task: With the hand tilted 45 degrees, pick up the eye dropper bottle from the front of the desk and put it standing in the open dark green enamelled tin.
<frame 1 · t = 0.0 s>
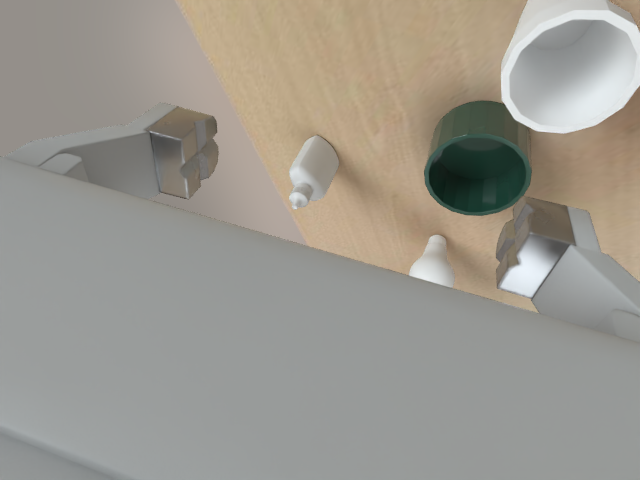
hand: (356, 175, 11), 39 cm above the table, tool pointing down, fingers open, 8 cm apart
eye dropper bottle: (323, 150, 60), on the table
foam cup: (557, 14, 41), on the table
lightbulb: (438, 236, 65), on the table
tin: (478, 143, 52), on the table
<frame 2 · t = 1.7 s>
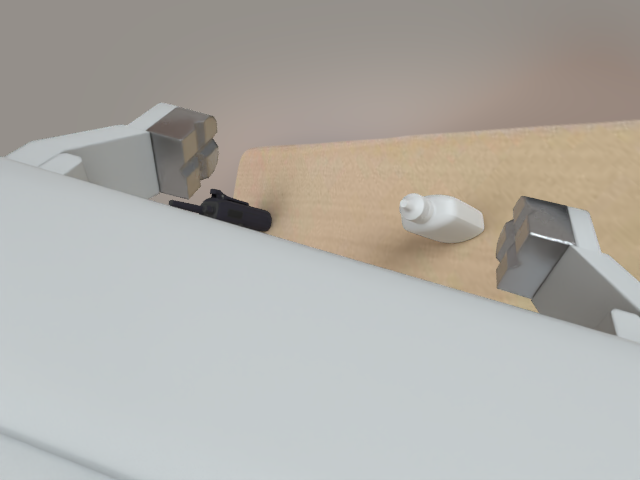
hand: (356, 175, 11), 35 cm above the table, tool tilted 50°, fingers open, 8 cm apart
eye dropper bottle: (459, 227, 46), on the table
two-way radio: (263, 218, 66), on the table
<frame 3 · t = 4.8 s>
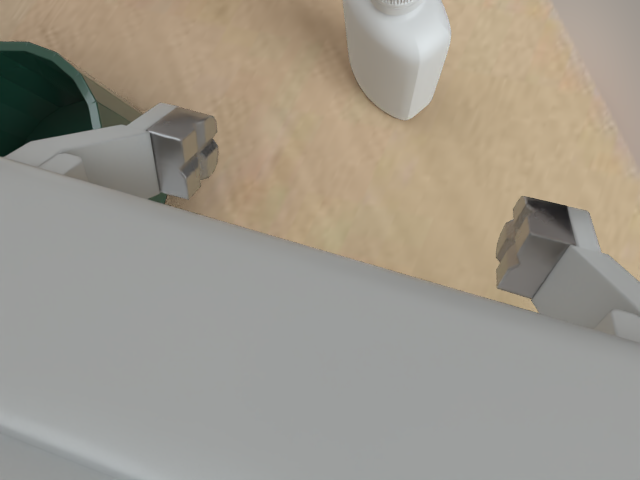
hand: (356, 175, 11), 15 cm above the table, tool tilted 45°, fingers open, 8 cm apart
eye dropper bottle: (389, 82, 26), on the table
tin: (90, 178, 28), on the table
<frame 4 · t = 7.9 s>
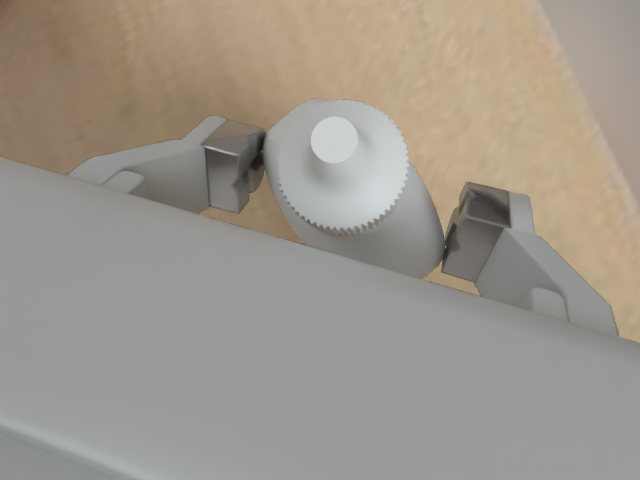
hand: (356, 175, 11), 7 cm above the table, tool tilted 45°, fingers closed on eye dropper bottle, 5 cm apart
eye dropper bottle: (359, 226, 18), on the table, touching gripper
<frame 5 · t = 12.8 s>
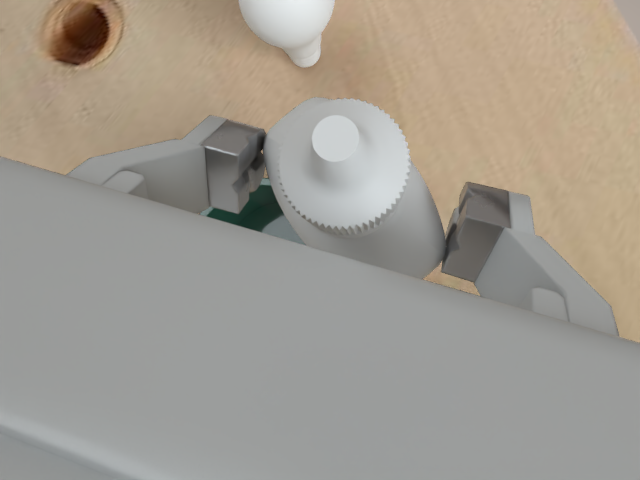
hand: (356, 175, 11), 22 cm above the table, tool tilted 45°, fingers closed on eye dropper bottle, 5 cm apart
eye dropper bottle: (359, 225, 18), point 15 cm above the table, touching gripper
lightbulb: (307, 58, 35), on the table
tin: (287, 265, 34), on the table
when the fingers open (8 cm above the table, at t = 18.6 s): eye dropper bottle stays where it is, resting on tin.
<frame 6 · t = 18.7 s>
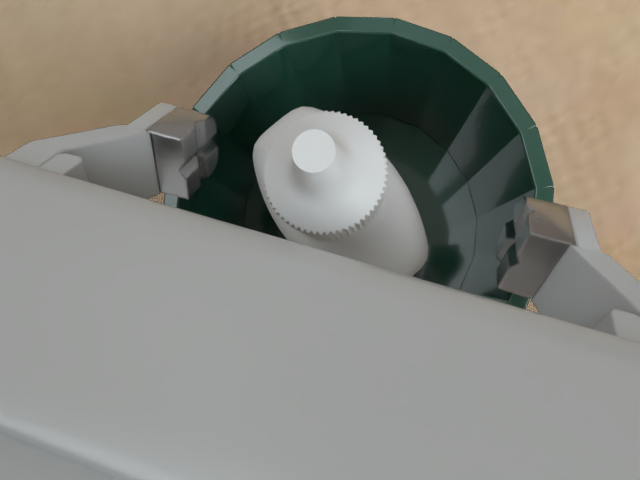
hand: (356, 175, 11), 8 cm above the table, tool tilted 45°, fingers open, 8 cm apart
eye dropper bottle: (351, 228, 19), resting on tin
tin: (356, 227, 19), on the table
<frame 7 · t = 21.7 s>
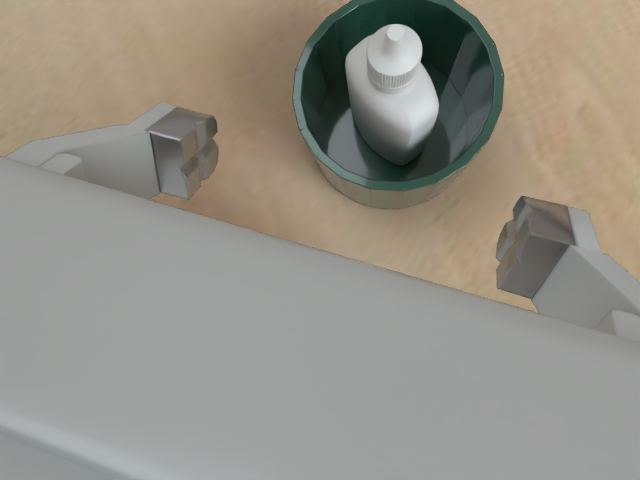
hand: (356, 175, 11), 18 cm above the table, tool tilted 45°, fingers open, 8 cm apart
eye dropper bottle: (387, 129, 29), resting on tin
tin: (390, 130, 30), on the table
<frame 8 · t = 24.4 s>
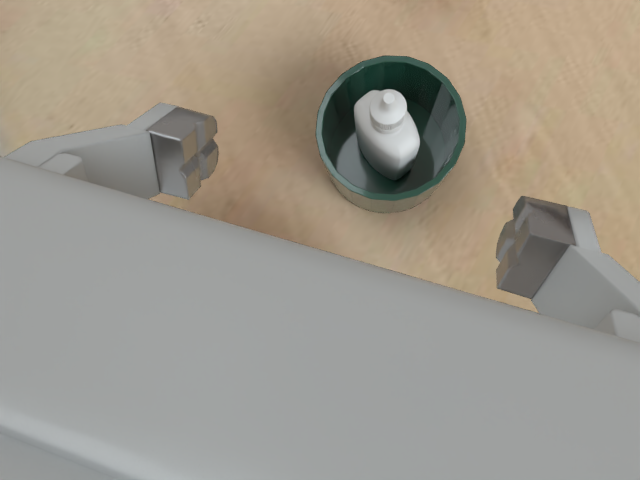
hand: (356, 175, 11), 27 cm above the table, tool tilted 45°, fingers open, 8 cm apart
eye dropper bottle: (384, 152, 39), resting on tin
tin: (386, 152, 39), on the table
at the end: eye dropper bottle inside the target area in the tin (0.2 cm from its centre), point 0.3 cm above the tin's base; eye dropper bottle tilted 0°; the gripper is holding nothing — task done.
